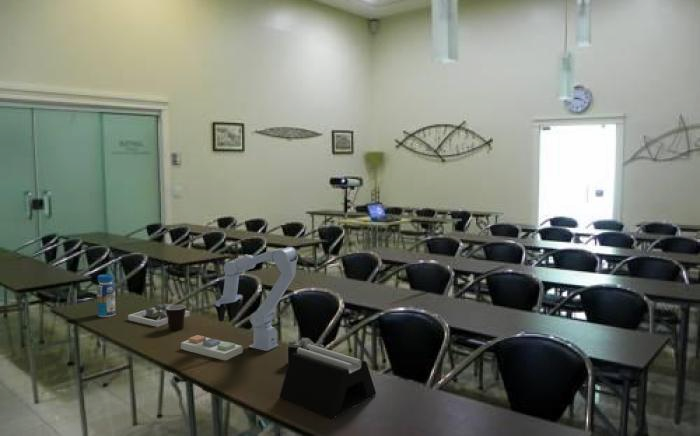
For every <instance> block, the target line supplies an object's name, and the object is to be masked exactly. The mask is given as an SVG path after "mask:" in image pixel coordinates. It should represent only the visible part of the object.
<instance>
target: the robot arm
mask: <svg viewBox="0 0 700 436" xmlns="http://www.w3.org/2000/svg"><path fill="white" fill-rule="evenodd" d="M298 256H299V255H298V253H297V250H296V249H295V248H294V247H293V246H286V247H285V248H284V247H280V248H276V249H272V250H268V251H266V252H263V253H260V254H259V255H255V256H254V255H252V254H247V253H246V254H244V255H243V256H242V257H237V258H234V260H230V261H227V262H226V263H224V265H223V271H224V274H225V275H224V284H223V291H222V295H221V297H220V298H219V299H218V300H215V303H214V308H215V310H216V313H217V318H218V319H217V320H218V321H219V322H224V320H225V314H226V312H227V310H228V306H225V304H226V305H227V304H230V317H232V318H234V319H235V318H236V317H237V314H238V312H239V310H240V309H241V306H242V305H243V298H244V296H243V294H238V288H239V283H240V282H239V280H240V274H241V273H243V272H245V271H249V270H251V269H254V268H255V267H256V266H257V264H260V263H264V262H266V261H270V262H271V263H274V264H275V265H276V268H277V269H278V270H279V272H280V276H278V279H277V280H276V281H275V284H274V285H273V287H272V288H271V290H270V292H269V293H268V295H267V296H266V298H265V299H264V301H263V303H262V304H261V305H260V306H259V307H258V308H257V309H256V310H255V311H254V312H253V313H251V315H250V318H249V322H250V323H251V325H252V327H253V344H250V345H248V347H249V348H251V349H257V350H259V351H260V350H261V351H266V352H268V351H270V350H273V349H275V348H277V347H279V344H278V329H276V327H273V326H272V321H273V320H274V318H275V312H276V311H277V309H276V307H277V305H278V304H279V302H280V301H281V299H282V298H283V295H285V292H286V291H287V290H288V288H289V286H290V284H292V282H293V280H294V279H295V277H296V275H297V274H296V273H297V262H298V260H299V257H298Z"/></svg>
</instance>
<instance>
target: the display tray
mask: <svg viewBox="0 0 700 436" xmlns="http://www.w3.org/2000/svg"><path fill="white" fill-rule="evenodd" d="M151 308H152V309H153V308H155V307H151ZM146 310H147V309H144V310H141V311H138V312H134V313H130V314H127V320H128V321H131V322H135V323H139V324H144V325H148V326H151V327H152V326H153V327H156V328H157V327H160V326H165V325H167V324H168V319H167V317H165V318H160V319H159V320H158V321H157V319H150V318H146V317H147V316H146V314H144V315H142V313H145V312H146ZM154 311H155V312H154V313H153V314H156V313H160V311H157V310H156V309H155V310H154ZM161 311H164V312H166V311H165V310H161ZM190 314H191V312H190V310H186V309H185V317H186V318H188V316H189V317H190V316H191V315H190Z"/></svg>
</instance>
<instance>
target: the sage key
mask: <svg viewBox="0 0 700 436" xmlns="http://www.w3.org/2000/svg"><path fill="white" fill-rule="evenodd" d="M223 342H224V343H222V344H219V345H218V349H220V350H224V351H228V350H231V349H233V348H235V344H236V343H233V342H228V341H223Z"/></svg>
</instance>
